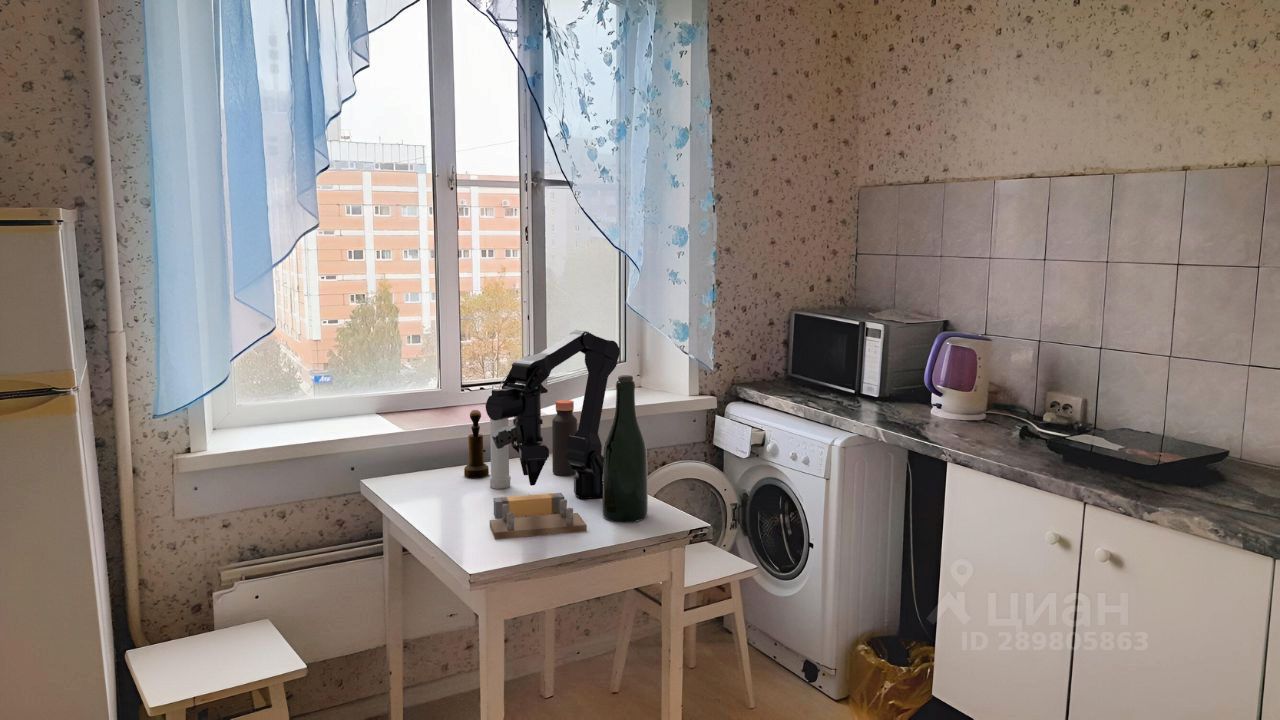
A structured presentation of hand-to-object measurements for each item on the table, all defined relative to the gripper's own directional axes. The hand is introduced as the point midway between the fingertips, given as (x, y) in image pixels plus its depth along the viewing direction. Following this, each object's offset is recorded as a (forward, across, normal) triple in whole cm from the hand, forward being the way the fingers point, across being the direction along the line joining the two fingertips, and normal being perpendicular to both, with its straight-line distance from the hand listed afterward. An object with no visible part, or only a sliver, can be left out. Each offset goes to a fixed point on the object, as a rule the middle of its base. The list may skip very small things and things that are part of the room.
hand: (529, 480), depth 205 cm
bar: (+8, 0, 0) cm, 8 cm away
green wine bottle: (+8, +8, +21) cm, 24 cm away
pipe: (+8, -25, -3) cm, 26 cm away
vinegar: (+8, -34, +16) cm, 38 cm away
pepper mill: (+8, -38, -8) cm, 40 cm away
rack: (+8, +12, 0) cm, 14 cm away
